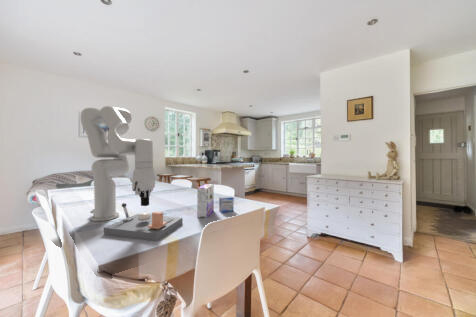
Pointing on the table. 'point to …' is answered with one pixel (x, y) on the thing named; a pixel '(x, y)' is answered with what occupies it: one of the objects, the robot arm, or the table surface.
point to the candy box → (205, 200)
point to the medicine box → (226, 204)
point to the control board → (142, 228)
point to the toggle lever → (125, 210)
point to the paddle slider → (157, 220)
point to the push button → (143, 216)
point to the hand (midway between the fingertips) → (145, 205)
